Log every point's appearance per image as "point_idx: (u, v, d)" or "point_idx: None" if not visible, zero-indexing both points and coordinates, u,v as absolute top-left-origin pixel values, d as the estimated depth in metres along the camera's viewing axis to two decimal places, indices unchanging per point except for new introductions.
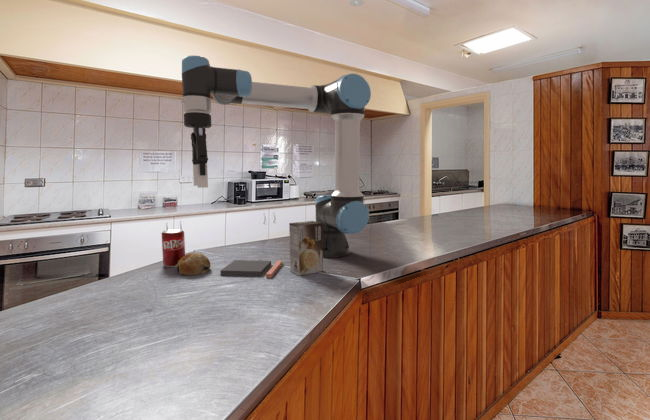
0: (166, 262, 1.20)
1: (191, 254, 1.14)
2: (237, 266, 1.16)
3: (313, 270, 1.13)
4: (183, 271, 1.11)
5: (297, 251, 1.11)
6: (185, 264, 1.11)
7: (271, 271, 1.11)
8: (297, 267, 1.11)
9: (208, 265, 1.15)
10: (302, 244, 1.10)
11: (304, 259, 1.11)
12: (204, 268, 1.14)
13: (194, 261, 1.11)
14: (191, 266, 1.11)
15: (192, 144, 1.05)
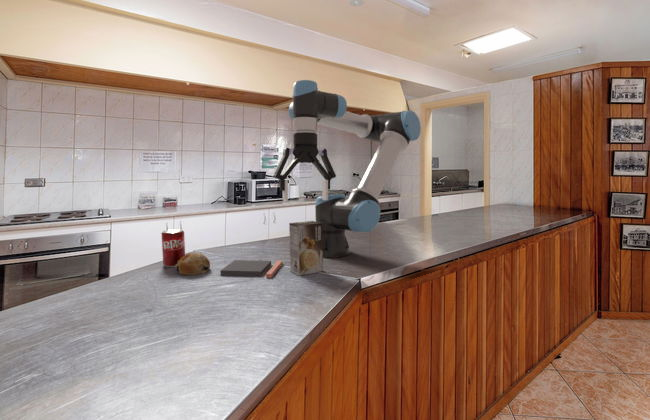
0: (166, 262, 1.20)
1: (191, 254, 1.14)
2: (237, 266, 1.16)
3: (313, 270, 1.13)
4: (183, 271, 1.11)
5: (297, 251, 1.11)
6: (185, 264, 1.11)
7: (271, 271, 1.11)
8: (297, 267, 1.11)
9: (208, 265, 1.15)
10: (302, 244, 1.10)
11: (304, 259, 1.11)
12: (204, 268, 1.14)
13: (193, 261, 1.11)
14: (191, 266, 1.11)
15: None
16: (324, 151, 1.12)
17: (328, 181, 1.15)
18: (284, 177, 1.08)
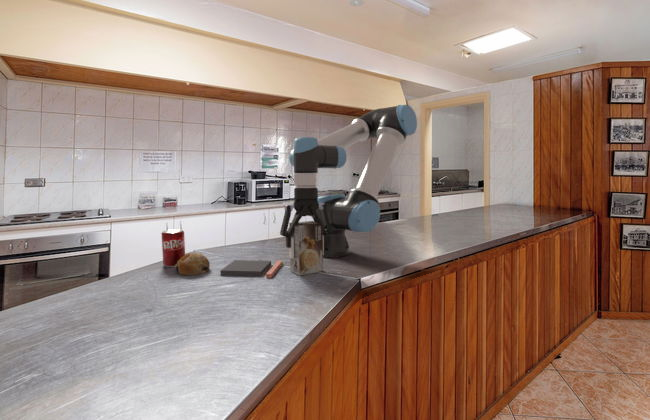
0: (166, 262, 1.20)
1: (190, 254, 1.14)
2: (237, 266, 1.16)
3: (313, 270, 1.13)
4: (182, 271, 1.11)
5: (297, 251, 1.11)
6: (184, 264, 1.11)
7: (271, 271, 1.11)
8: (297, 267, 1.11)
9: (207, 265, 1.15)
10: (302, 244, 1.10)
11: (304, 259, 1.11)
12: (203, 268, 1.14)
13: (193, 261, 1.11)
14: (190, 266, 1.11)
15: None
16: (324, 206, 1.14)
17: (324, 236, 1.16)
18: (290, 235, 1.10)
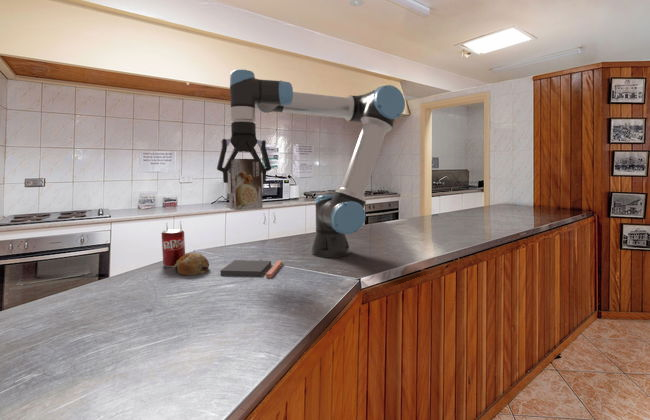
0: (166, 262, 1.20)
1: (189, 254, 1.14)
2: (237, 266, 1.16)
3: (251, 206, 1.12)
4: (181, 271, 1.11)
5: (233, 185, 1.10)
6: (183, 264, 1.11)
7: (271, 271, 1.11)
8: (234, 202, 1.10)
9: (207, 265, 1.15)
10: (238, 178, 1.09)
11: (241, 194, 1.10)
12: (202, 268, 1.14)
13: (192, 261, 1.11)
14: (190, 266, 1.11)
15: None
16: (263, 142, 1.14)
17: (263, 174, 1.15)
18: (226, 169, 1.10)
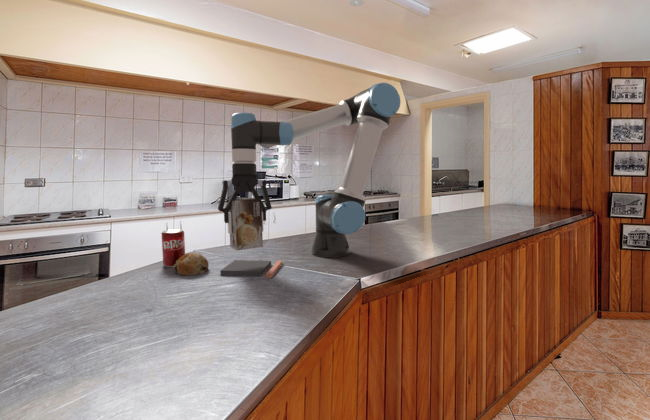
0: (166, 262, 1.20)
1: (189, 254, 1.14)
2: (237, 266, 1.16)
3: (252, 246, 1.14)
4: (181, 271, 1.11)
5: (234, 226, 1.11)
6: (183, 264, 1.11)
7: (271, 271, 1.11)
8: (235, 242, 1.12)
9: (206, 265, 1.15)
10: (239, 219, 1.11)
11: (242, 234, 1.12)
12: (202, 268, 1.14)
13: (192, 261, 1.11)
14: (189, 266, 1.11)
15: None
16: (263, 182, 1.15)
17: (264, 213, 1.17)
18: (227, 210, 1.11)
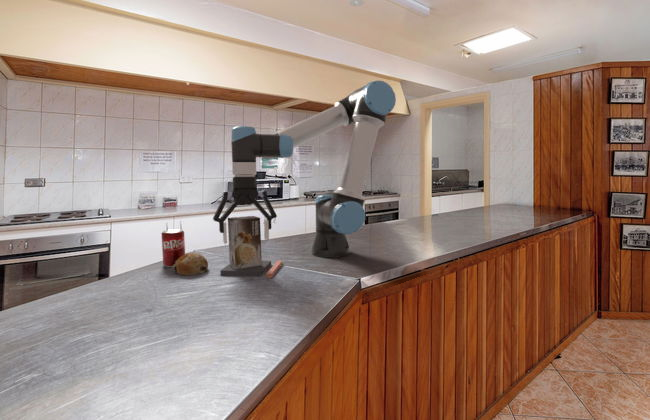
0: (166, 262, 1.20)
1: (189, 254, 1.14)
2: None
3: (251, 265, 1.14)
4: (181, 271, 1.11)
5: (233, 245, 1.12)
6: (182, 264, 1.11)
7: (271, 271, 1.11)
8: (233, 261, 1.12)
9: (206, 265, 1.15)
10: (238, 238, 1.11)
11: (240, 254, 1.12)
12: (202, 268, 1.14)
13: (191, 261, 1.11)
14: (189, 266, 1.11)
15: None
16: (264, 193, 1.16)
17: (269, 221, 1.18)
18: (223, 220, 1.11)
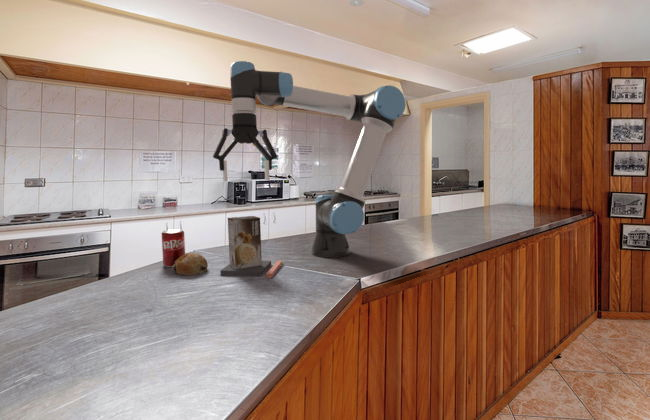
0: (166, 262, 1.20)
1: (188, 254, 1.14)
2: None
3: (251, 265, 1.14)
4: (180, 271, 1.11)
5: (233, 245, 1.12)
6: (182, 264, 1.11)
7: (271, 271, 1.11)
8: (233, 261, 1.12)
9: (205, 265, 1.15)
10: (238, 238, 1.11)
11: (240, 254, 1.12)
12: (201, 268, 1.14)
13: (191, 261, 1.11)
14: (188, 266, 1.11)
15: (251, 142, 1.16)
16: (264, 132, 1.15)
17: (269, 161, 1.17)
18: (223, 157, 1.10)
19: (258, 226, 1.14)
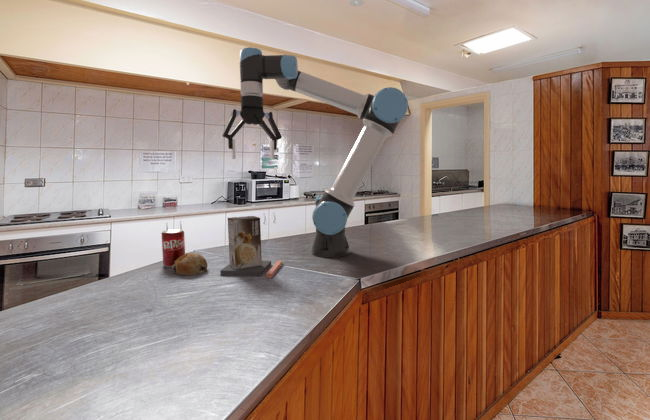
0: (166, 262, 1.20)
1: (188, 254, 1.14)
2: None
3: (251, 265, 1.14)
4: (180, 271, 1.11)
5: (233, 245, 1.12)
6: (182, 264, 1.11)
7: (271, 271, 1.11)
8: (233, 261, 1.12)
9: (205, 265, 1.15)
10: (238, 238, 1.11)
11: (240, 254, 1.12)
12: (201, 268, 1.14)
13: (190, 261, 1.11)
14: (188, 266, 1.11)
15: (258, 123, 1.25)
16: (270, 114, 1.24)
17: (274, 142, 1.26)
18: (231, 136, 1.19)
19: (258, 226, 1.14)
